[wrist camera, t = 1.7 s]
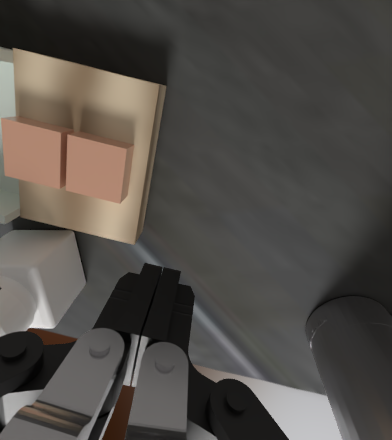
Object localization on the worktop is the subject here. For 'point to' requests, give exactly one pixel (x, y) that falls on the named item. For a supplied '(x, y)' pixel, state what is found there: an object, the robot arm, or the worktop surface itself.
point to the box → (3, 107)
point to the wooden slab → (93, 124)
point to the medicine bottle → (37, 278)
